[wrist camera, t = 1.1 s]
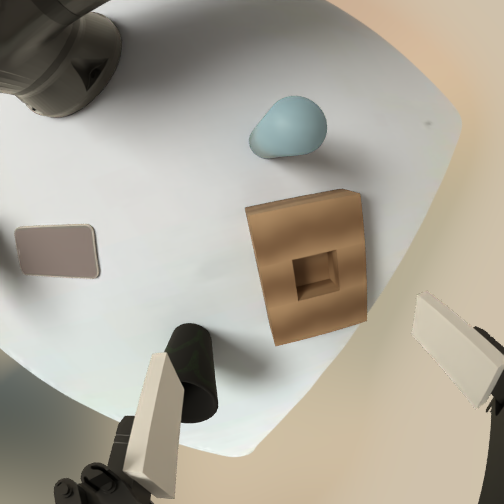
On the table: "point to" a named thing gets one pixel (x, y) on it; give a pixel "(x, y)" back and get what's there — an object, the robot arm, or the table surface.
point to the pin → (289, 129)
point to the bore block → (311, 263)
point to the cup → (194, 371)
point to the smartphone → (57, 250)
